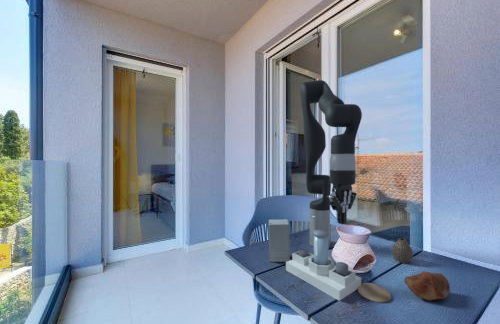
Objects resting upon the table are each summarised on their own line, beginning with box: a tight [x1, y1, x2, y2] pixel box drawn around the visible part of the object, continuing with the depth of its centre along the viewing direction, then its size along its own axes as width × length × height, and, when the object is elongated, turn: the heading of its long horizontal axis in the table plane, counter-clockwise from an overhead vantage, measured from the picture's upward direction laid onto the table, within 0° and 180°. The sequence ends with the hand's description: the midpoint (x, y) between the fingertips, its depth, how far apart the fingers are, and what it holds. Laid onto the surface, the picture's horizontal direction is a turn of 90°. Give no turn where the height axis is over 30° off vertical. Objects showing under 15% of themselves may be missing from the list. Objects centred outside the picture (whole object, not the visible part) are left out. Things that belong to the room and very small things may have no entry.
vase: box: [391, 238, 414, 264], centre depth 91 cm, size 7×7×9 cm
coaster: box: [357, 282, 392, 303], centre depth 70 cm, size 9×9×1 cm
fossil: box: [404, 271, 451, 302], centre depth 69 cm, size 13×8×10 cm
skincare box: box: [268, 218, 291, 263], centre depth 93 cm, size 8×7×16 cm
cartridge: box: [313, 230, 329, 266], centre depth 78 cm, size 5×5×13 cm
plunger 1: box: [297, 248, 309, 258], centre depth 85 cm, size 4×4×3 cm
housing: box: [285, 251, 362, 302], centre depth 79 cm, size 12×22×6 cm, turn 35°
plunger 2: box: [335, 261, 349, 277], centre depth 72 cm, size 4×4×3 cm
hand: (341, 223), depth 72 cm, fingers closed
